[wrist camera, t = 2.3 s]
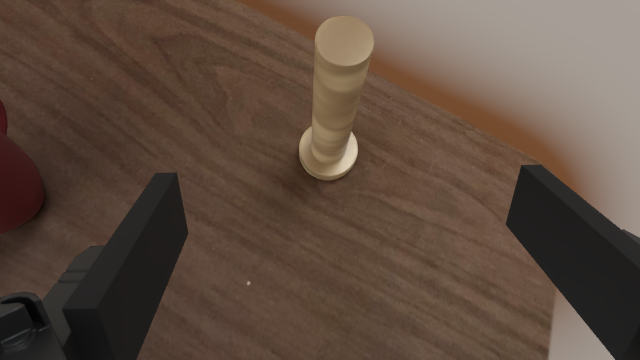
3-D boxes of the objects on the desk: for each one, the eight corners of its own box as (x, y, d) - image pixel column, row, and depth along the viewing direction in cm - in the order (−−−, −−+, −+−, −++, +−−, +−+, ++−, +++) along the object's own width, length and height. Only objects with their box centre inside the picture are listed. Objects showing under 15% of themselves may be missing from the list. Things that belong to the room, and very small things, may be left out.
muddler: (354, 127, 31) (390, -2, 18) (357, 180, 30) (399, 84, 17) (298, 127, 31) (293, -2, 18) (299, 181, 30) (294, 85, 16)
